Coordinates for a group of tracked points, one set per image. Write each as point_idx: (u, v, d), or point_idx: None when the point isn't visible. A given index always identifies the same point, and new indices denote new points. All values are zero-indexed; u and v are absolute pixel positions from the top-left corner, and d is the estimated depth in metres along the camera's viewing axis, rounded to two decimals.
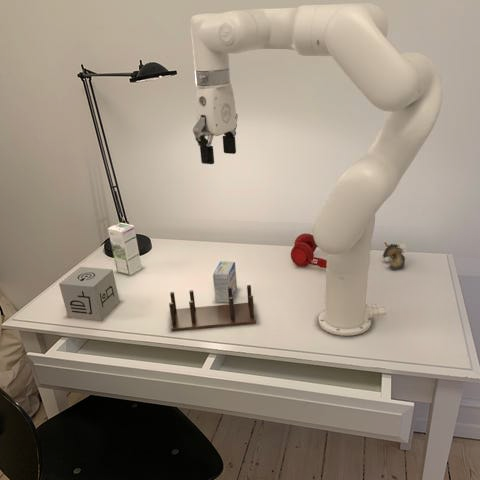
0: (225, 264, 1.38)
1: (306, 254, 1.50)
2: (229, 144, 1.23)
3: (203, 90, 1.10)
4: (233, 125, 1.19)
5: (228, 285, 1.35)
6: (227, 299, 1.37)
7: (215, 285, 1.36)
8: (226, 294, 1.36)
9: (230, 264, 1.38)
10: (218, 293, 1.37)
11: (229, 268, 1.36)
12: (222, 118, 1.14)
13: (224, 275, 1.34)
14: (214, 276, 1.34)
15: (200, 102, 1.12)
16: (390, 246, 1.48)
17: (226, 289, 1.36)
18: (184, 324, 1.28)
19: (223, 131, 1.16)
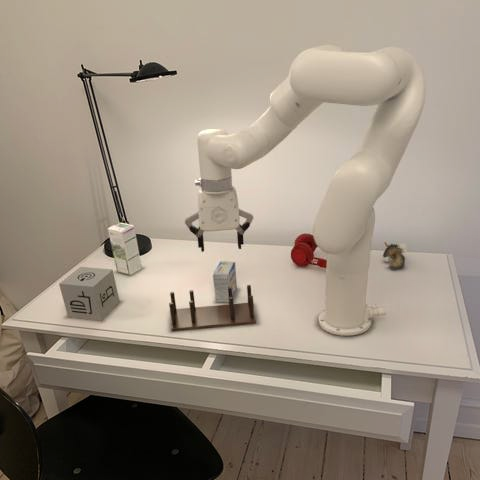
0: (225, 264, 1.38)
1: (306, 254, 1.50)
2: None
3: None
4: (231, 226, 1.28)
5: (228, 285, 1.35)
6: (227, 299, 1.37)
7: (215, 285, 1.36)
8: (226, 294, 1.36)
9: (230, 264, 1.38)
10: (218, 293, 1.37)
11: (229, 268, 1.36)
12: (212, 218, 1.27)
13: (224, 275, 1.34)
14: (214, 276, 1.34)
15: None
16: (390, 246, 1.48)
17: (226, 289, 1.36)
18: (184, 324, 1.28)
19: (213, 229, 1.28)
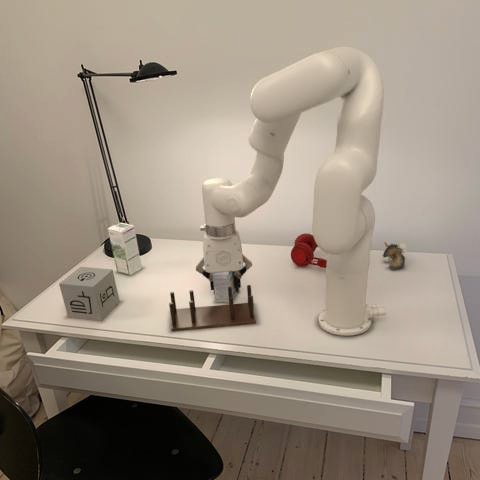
0: None
1: (306, 254, 1.50)
2: (235, 283, 1.39)
3: None
4: (235, 268, 1.34)
5: (228, 285, 1.35)
6: (227, 299, 1.37)
7: (215, 285, 1.36)
8: (226, 294, 1.36)
9: None
10: (217, 293, 1.37)
11: None
12: (217, 261, 1.33)
13: (224, 275, 1.34)
14: (214, 276, 1.34)
15: None
16: (390, 246, 1.48)
17: (226, 289, 1.36)
18: (184, 324, 1.28)
19: (218, 271, 1.34)
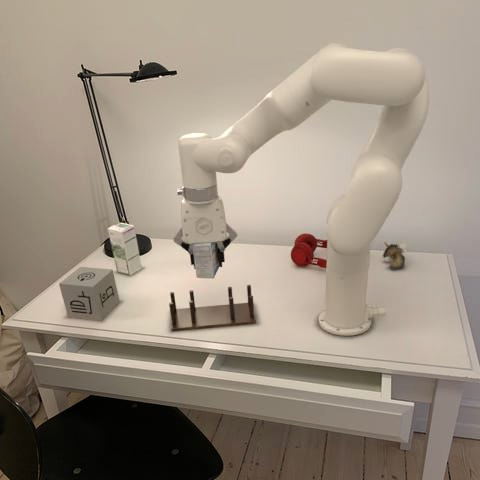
0: None
1: (306, 254, 1.50)
2: None
3: None
4: (218, 238, 1.18)
5: (210, 258, 1.19)
6: (209, 274, 1.21)
7: (195, 258, 1.20)
8: (208, 268, 1.20)
9: None
10: (198, 267, 1.21)
11: None
12: (197, 230, 1.17)
13: (206, 247, 1.18)
14: (194, 248, 1.18)
15: None
16: (390, 246, 1.48)
17: (208, 263, 1.20)
18: (184, 324, 1.28)
19: (198, 241, 1.18)
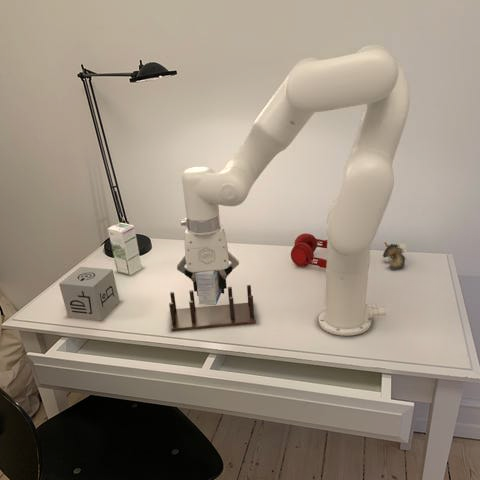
0: None
1: (306, 254, 1.50)
2: None
3: (185, 232, 1.19)
4: (220, 266, 1.21)
5: (213, 286, 1.22)
6: (212, 301, 1.25)
7: (198, 286, 1.23)
8: (211, 296, 1.24)
9: None
10: (201, 294, 1.24)
11: None
12: (200, 259, 1.20)
13: (208, 275, 1.21)
14: (197, 276, 1.22)
15: None
16: (390, 246, 1.48)
17: (210, 290, 1.23)
18: (184, 324, 1.28)
19: (201, 270, 1.22)
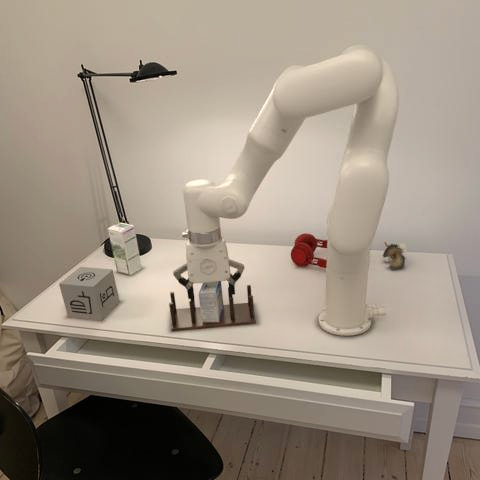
0: None
1: (306, 254, 1.50)
2: None
3: None
4: (222, 277, 1.23)
5: (215, 304, 1.25)
6: (215, 319, 1.27)
7: (201, 304, 1.26)
8: (213, 314, 1.27)
9: None
10: (204, 313, 1.27)
11: (215, 285, 1.26)
12: (201, 270, 1.22)
13: (211, 294, 1.24)
14: (200, 295, 1.24)
15: None
16: (390, 246, 1.48)
17: (213, 308, 1.26)
18: (184, 324, 1.28)
19: (202, 281, 1.23)
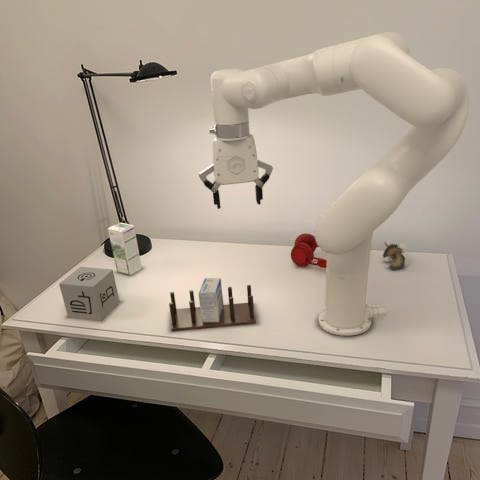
0: (211, 281, 1.28)
1: (306, 254, 1.50)
2: (256, 194, 1.22)
3: None
4: (250, 177, 1.18)
5: (215, 304, 1.25)
6: (215, 319, 1.27)
7: (201, 304, 1.26)
8: (213, 314, 1.27)
9: (216, 281, 1.28)
10: (204, 313, 1.27)
11: (215, 285, 1.26)
12: (229, 169, 1.16)
13: (211, 294, 1.24)
14: (200, 295, 1.24)
15: None
16: (390, 246, 1.48)
17: (213, 308, 1.26)
18: (184, 324, 1.28)
19: (230, 181, 1.18)
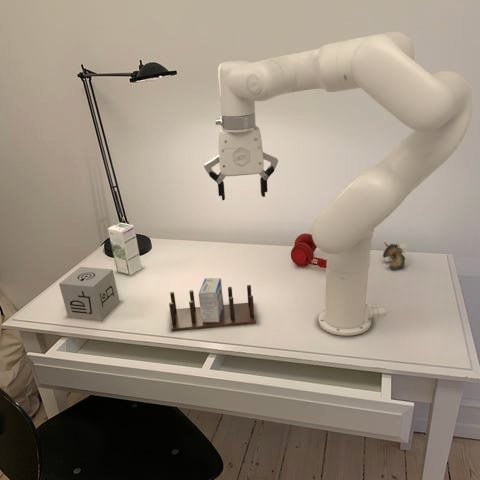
0: (211, 281, 1.28)
1: (306, 254, 1.50)
2: (261, 186, 1.23)
3: (219, 132, 1.16)
4: (255, 170, 1.18)
5: (215, 304, 1.25)
6: (215, 319, 1.27)
7: (201, 304, 1.26)
8: (213, 314, 1.27)
9: (216, 281, 1.28)
10: (204, 313, 1.27)
11: (215, 285, 1.26)
12: (234, 161, 1.17)
13: (211, 294, 1.24)
14: (200, 295, 1.24)
15: None
16: (390, 246, 1.48)
17: (213, 308, 1.26)
18: (184, 324, 1.28)
19: (235, 173, 1.18)
